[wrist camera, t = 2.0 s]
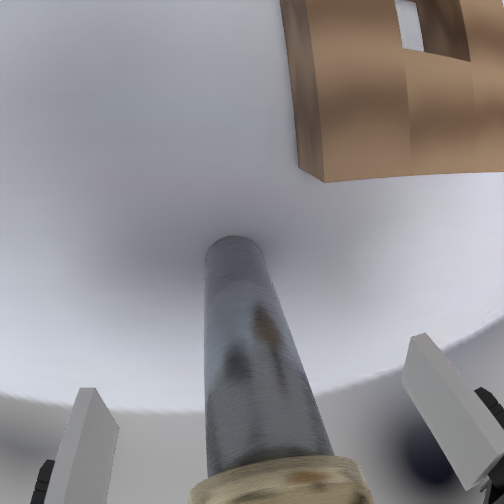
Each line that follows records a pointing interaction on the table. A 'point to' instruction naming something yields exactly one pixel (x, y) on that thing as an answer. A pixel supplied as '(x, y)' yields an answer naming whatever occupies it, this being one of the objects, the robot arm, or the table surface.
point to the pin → (261, 397)
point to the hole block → (396, 88)
